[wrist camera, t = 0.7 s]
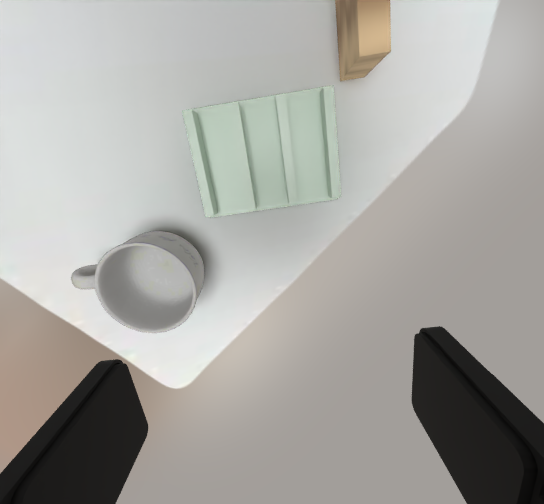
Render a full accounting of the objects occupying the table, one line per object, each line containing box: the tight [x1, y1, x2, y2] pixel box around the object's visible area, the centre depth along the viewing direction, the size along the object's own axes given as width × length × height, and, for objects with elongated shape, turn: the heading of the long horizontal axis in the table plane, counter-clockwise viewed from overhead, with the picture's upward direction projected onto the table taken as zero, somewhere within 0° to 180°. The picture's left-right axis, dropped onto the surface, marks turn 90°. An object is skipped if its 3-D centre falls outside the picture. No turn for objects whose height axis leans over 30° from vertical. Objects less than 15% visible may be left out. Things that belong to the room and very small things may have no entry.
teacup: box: [71, 231, 204, 333], centre depth 32 cm, size 14×11×8 cm
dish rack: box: [182, 85, 341, 218], centre depth 30 cm, size 12×16×3 cm
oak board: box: [335, 0, 391, 81], centre depth 25 cm, size 9×3×7 cm, turn 8°
